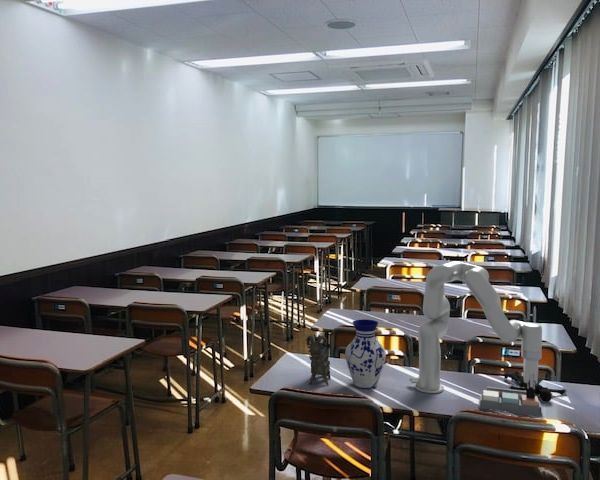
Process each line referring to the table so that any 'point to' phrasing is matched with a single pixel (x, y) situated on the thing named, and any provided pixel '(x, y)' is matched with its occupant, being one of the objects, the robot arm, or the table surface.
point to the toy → (539, 390)
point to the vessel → (319, 357)
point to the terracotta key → (529, 401)
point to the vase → (365, 355)
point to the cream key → (491, 395)
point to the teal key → (509, 398)
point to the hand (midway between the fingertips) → (530, 397)
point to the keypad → (508, 406)
